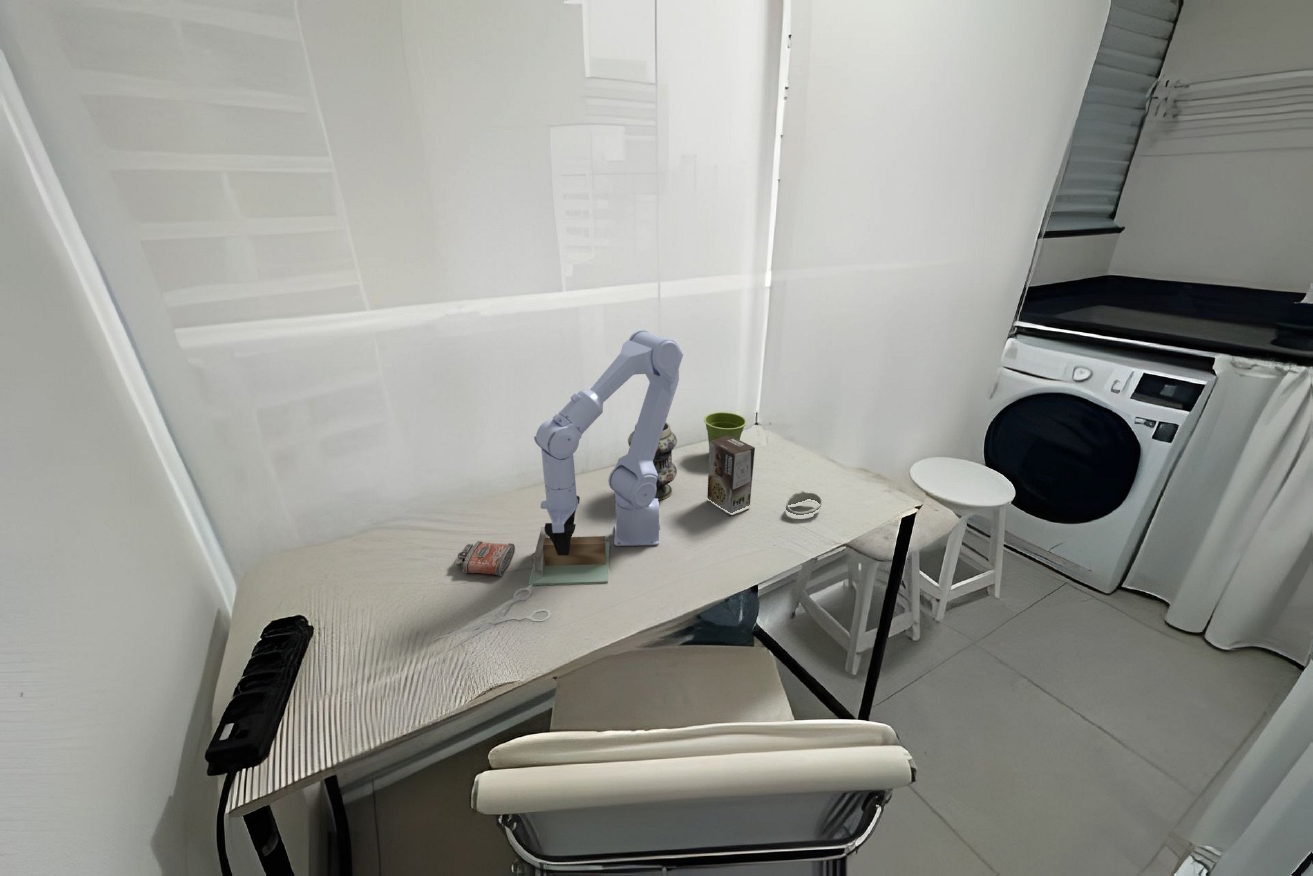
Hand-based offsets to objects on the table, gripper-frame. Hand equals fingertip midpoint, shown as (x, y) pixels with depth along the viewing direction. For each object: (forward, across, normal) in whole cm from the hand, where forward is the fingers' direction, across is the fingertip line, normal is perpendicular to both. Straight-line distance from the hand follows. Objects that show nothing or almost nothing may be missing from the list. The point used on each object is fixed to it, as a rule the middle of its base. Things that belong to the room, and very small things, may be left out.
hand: (565, 542), depth 106 cm
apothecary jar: (+5, -28, +18) cm, 34 cm away
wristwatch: (+6, -16, +53) cm, 56 cm away
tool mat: (+5, 0, +1) cm, 5 cm away
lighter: (+3, +1, -11) cm, 12 cm away
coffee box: (+6, -21, +36) cm, 42 cm away
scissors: (+6, +16, -11) cm, 20 cm away
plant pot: (+6, -47, +39) cm, 62 cm away
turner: (+5, 0, +1) cm, 5 cm away
